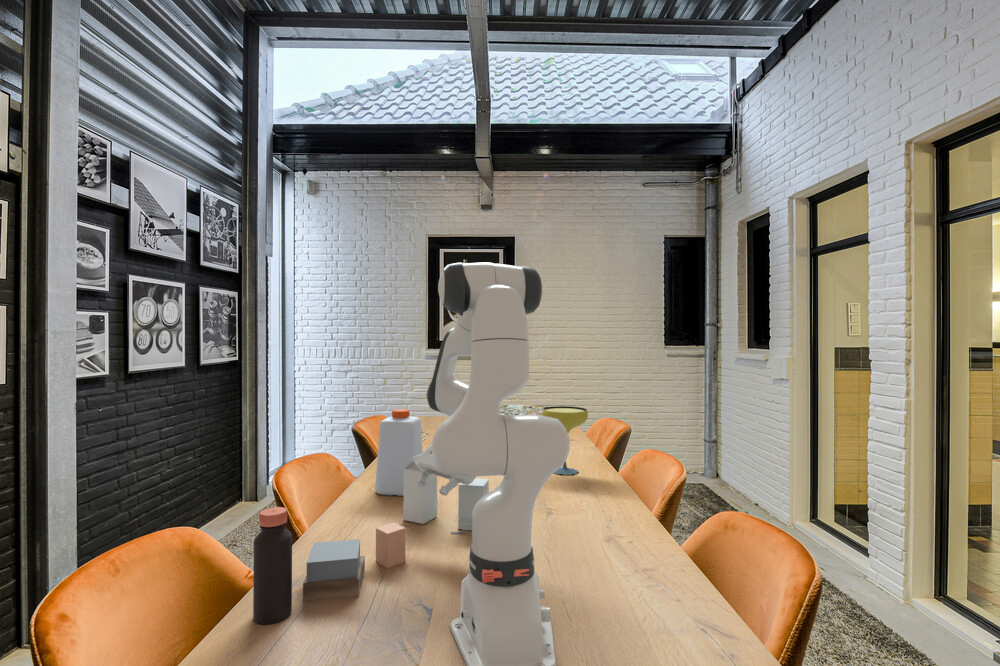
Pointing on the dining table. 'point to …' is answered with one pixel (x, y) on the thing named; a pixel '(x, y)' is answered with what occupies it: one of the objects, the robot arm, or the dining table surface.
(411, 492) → the milk carton
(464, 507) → the supplement box
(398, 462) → the plastic bottle
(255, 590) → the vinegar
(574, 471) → the cocktail glass
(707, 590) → the dining table surface
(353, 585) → the tower base block
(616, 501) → the dining table surface
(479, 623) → the robot arm
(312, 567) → the tower top block
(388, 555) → the terracotta block
